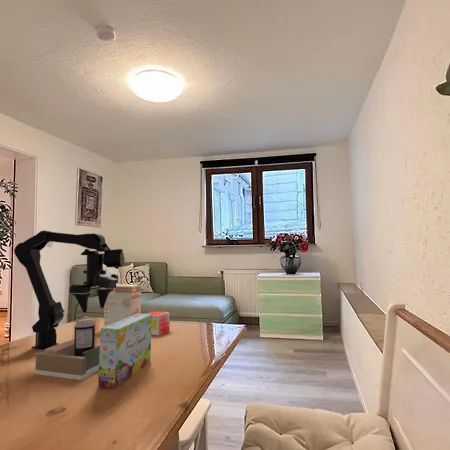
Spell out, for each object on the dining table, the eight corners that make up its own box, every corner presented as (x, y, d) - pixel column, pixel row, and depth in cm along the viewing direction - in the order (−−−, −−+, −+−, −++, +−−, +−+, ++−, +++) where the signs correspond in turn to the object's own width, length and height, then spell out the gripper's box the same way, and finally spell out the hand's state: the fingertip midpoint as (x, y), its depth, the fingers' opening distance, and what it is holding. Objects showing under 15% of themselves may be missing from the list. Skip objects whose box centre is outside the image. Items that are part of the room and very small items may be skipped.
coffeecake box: (141, 329, 149) (141, 284, 150) (130, 332, 142) (131, 286, 144) (114, 326, 155) (115, 283, 156) (103, 329, 148) (104, 285, 150)
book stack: (43, 367, 98) (43, 349, 98) (75, 353, 110) (76, 338, 110) (55, 368, 96) (56, 350, 97) (87, 355, 109) (87, 339, 109)
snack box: (117, 389, 85) (118, 328, 86) (97, 388, 86) (98, 327, 87) (152, 362, 105) (152, 313, 106) (135, 360, 107) (136, 312, 108)
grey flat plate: (81, 370, 94) (82, 352, 95) (108, 357, 106) (109, 341, 106) (84, 371, 94) (85, 352, 95) (111, 357, 106) (111, 341, 106)
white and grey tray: (35, 373, 96) (35, 353, 96) (80, 354, 113) (80, 337, 113) (81, 380, 91) (81, 358, 91) (121, 359, 108) (121, 341, 108)
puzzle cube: (143, 333, 141) (143, 314, 142) (154, 329, 148) (154, 311, 149) (159, 335, 138) (159, 315, 139) (169, 331, 145) (169, 312, 146)
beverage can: (98, 360, 103) (98, 320, 104) (83, 366, 98) (84, 324, 99) (84, 358, 105) (85, 319, 106) (69, 364, 100) (70, 322, 101)
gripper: (95, 269, 113) (94, 316, 112) (128, 266, 131) (127, 307, 130) (69, 268, 117) (67, 314, 116) (104, 266, 135) (103, 305, 133)
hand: (93, 310), depth 124 cm, fingers open, 9 cm apart
